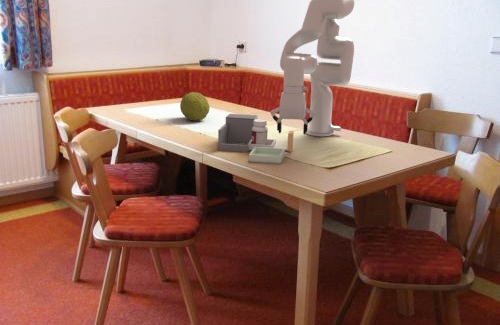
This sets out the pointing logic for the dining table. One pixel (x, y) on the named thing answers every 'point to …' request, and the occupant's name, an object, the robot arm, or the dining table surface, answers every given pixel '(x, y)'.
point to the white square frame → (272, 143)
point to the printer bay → (236, 132)
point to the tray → (267, 155)
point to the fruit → (194, 106)
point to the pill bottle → (259, 132)
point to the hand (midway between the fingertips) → (292, 133)
